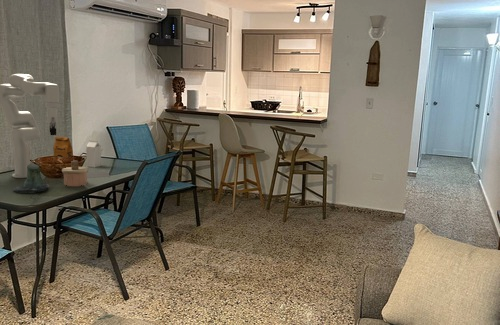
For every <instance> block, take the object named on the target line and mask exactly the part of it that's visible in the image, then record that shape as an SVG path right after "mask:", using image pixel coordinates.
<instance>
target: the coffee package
mask: <svg viewBox="0 0 500 325" xmlns="http://www.w3.org/2000/svg"><path fill="white" fill-rule="evenodd" d="M54 139H55V141H54V145H53V150H52V151H53V157H54V156H60V157H69V156H73V157H74V151H73V146H72V143H71V140H70V137H63V136H55V137H54Z"/></svg>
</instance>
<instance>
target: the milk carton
mask: <svg viewBox="0 0 500 325" xmlns="http://www.w3.org/2000/svg"><path fill="white" fill-rule="evenodd" d="M101 146H102V145H101V144H100V143H99V142H98V140H92V139H89V141H88V143H87V144H86V146H85V147H86V149H85V150H86V153H85V154H86V168H97V167H101V166H102V153H101V152H102V150H101V149H102V148H101Z"/></svg>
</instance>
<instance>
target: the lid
mask: <svg viewBox="0 0 500 325" xmlns="http://www.w3.org/2000/svg"><path fill="white" fill-rule="evenodd" d="M61 172H62V173H63V174H64V173H67V174H79V173H85V172H89V167H87V166H79V160H75V159H74V160H73V161H71V167H66V168H61Z"/></svg>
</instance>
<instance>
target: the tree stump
mask: <svg viewBox="0 0 500 325" xmlns="http://www.w3.org/2000/svg"><path fill="white" fill-rule="evenodd" d="M49 187H50V184H49V183H46V182H45V180H44V179H43V177H42V175H41V170H40V165H39V164H35V163H31V164H30V165H28V166H27V178H26V179H25V181H24V182H23V184H22V185H20V186H17V187H13V192H15V193H19V194H35V193H41V192H44V191H45V190H47V189H48V188H49ZM40 191H41V192H40Z"/></svg>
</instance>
